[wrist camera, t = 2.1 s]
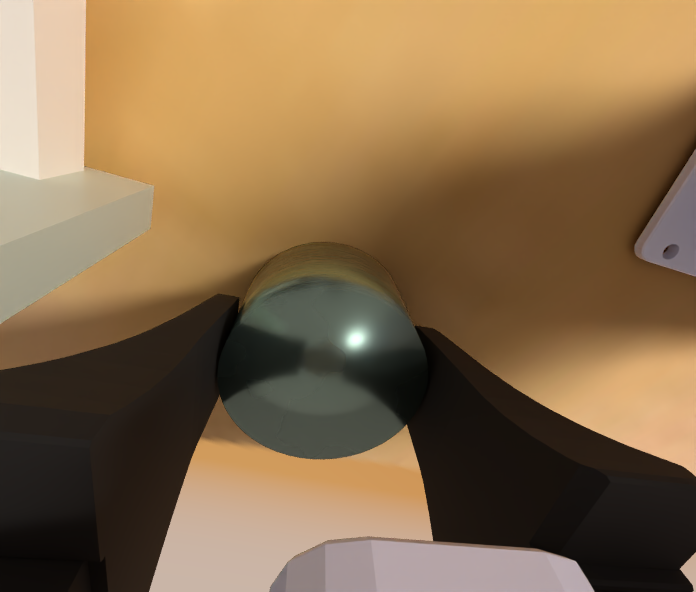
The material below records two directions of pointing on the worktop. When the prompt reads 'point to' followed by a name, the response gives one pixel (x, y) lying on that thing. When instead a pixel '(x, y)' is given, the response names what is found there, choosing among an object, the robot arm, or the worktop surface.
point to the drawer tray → (53, 159)
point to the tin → (322, 355)
